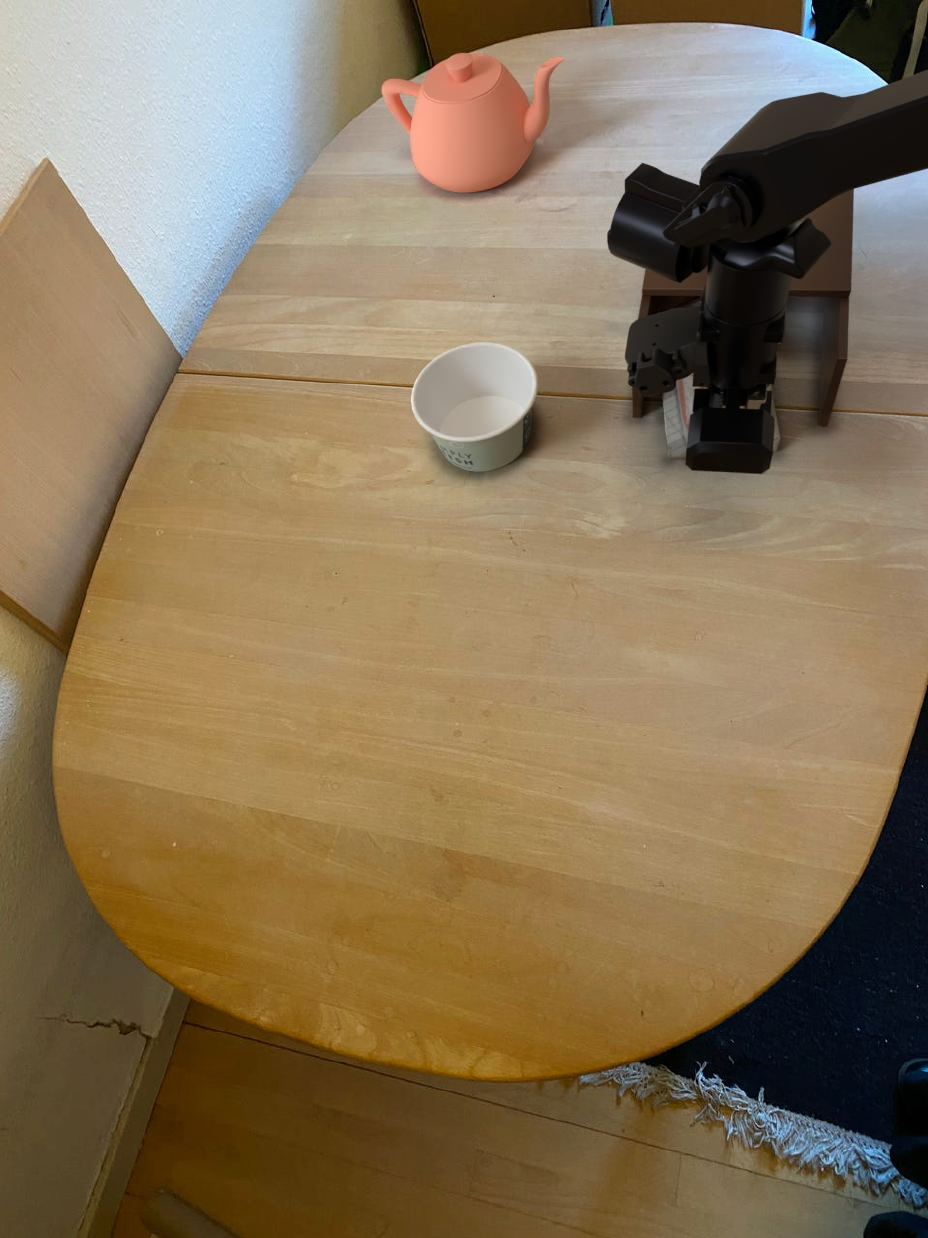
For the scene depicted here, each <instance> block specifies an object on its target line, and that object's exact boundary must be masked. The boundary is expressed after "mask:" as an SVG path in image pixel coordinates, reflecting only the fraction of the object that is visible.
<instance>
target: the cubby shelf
mask: <svg viewBox="0 0 928 1238" xmlns="http://www.w3.org/2000/svg"><path fill="white" fill-rule="evenodd" d="M854 197H855V189H852V190H849V191H847V192H845V193H843V194H841V195H839V196H837V197H835V198H833V199H831V200H829V201H828V202H826V203H825V204H823V205H822V206H820V207H819V208H817V209H816V210H814V211H813V212H811V213H809V214H808V215H806V216H805V217H803V218H802V219H800V220H799V221H797V222H801V221H803V220H804V219H805V218H811V219H812V221H813V223H814V225H815V227H816V228H818V229H819V230H821V231H823V232H824V233H825V234H826V235H827V237H828V238H829V239H830V240H831V242H832V247H831V248H830V250H829V251H828V252H827V253H826V254H825V255H824V256H823V257H822V258H821V259H820V260H819V261H818V262H817V263H816V265H815V266H814V267H813V268H812V269H811V270H810V271H809V272H808V273H807V274H806V275H805V276H804V277H803V278H802V279H796V278H794V277H792V279H791V284H790V289H789V295H788V298H823V313H822V333H821V334H822V335H821V354H820V355H821V357H820V377H819V378H820V380H819V381H820V382H819V399H818V400H819V401H818V420H817V421H818V427H828V425H829V422H830V420H831V416H832V413H833V409H834V406H835V403H836V399H837V395H838V393H839V389H840V386H841V382H842V379H843V375H844V372H845V369H846V365H847V363H848V358H849V357H848V355H849V322H850V321H849V320H850V319H849V318H850V297H851V294H852V283H853V282H852V280H853V279H852V276H853V243H854V241H853V239H854V201H855V198H854ZM707 268H708V265H707V266H706V268H705V269H703V270H702V271H701V272H699V273H692V274H691V275H690V276H689V277H688V278H686V279H685V280H683V281H682V282H681V283H678V282H675V281H673V280H670V279H668V278H666V277H663V276H661V275H658V274H656V273H654V272H651V271H649V270H646V269H644V276H643V281H642V287H641V298H640V299H641V300H640V305H639V311H638V315H637V319H639V318H642V317H646V316H649V315H653V314H657V313H659V308H660V302H661V297H701V293H702V291H704V286H705V285H706V280H707ZM631 388H632V389H631V390H632V393H631V394H632V418H635V419H641V418H642V414H643V408H644V401H645V396H644V395H641V394H640V393H639V392H638V390H637V388H636V387H632V386H631Z"/></svg>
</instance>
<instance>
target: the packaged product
mask: <svg viewBox="0 0 928 1238" xmlns="http://www.w3.org/2000/svg"><path fill="white" fill-rule="evenodd" d="M700 302H701V296H698V297H696V298H694V299H690V300H688V299H687V300H685V301H682V302H680V303H678V304H675V305H674V306H673V307H672V308H671V309H675V308H690V307H696V306H700ZM692 384H693V373H692V374H691V375H690V376H688V377H686V378H684V379H680V380H677V381H676V387H675V388H674V390H673V391H670V392H666V393H661V397H662V398H661V399H662V407H663V417H664V431H665V436H666V437H665V438H666V442H667V457H668V459H669V460H675V459H676V460H677V459H679V460H680V459H686V448H687V439H688V430H689V421H690V415H691V414H693V411H692V409H693V400H694V391H695V388H698V389H708V388H707V387H692ZM767 390H769V391H772V404H771V415H772V416H773V417H774V418H775V426H774V445H773V452H777V450H778V447H779V444H780V441H781V434H780V428H779V422H778V417H777V411H776V406H775V401H774V400H775V399H774V394H773V388H772V384H770V385H769V386H768V388H767Z"/></svg>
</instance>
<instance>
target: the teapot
mask: <svg viewBox="0 0 928 1238" xmlns="http://www.w3.org/2000/svg"><path fill="white" fill-rule="evenodd" d="M564 58H565V57H564V56H556V57H552V58H550V59H548V60H547V61H545V62H543V63H542V64H541V65H539V67H538V69H537V71H536V73H535V75H534V82H533V101H532V103H530V101H529V98H528V96H527V94H526V92H525V90H524V89H523V87H522V86H521V85H520V83H519V82H518V80H517V79H516V77H515V76H514V75H513V74H512V72H511V71H510V70H509V69H508V68H507V67H506V66H505V65H504V64H503V63H502V62H501V61H500V60H499V59H498V58H496V57H493V56H491V55H488V54H483V53H467V52H458V53H455V54H453V55H451V56H449V58H446V59H443V60H442V61H440V62H438V63H437V64H435V65H434V66H433V67H432V68H431V69H430V70H429V71H428V73H427V74H426V76H425V77H424V79H423V81H422V83H421V84H420V83H418V82H415V81H411V80H407V79H402V78H389V79H387V80H385V81H384V82H383V83H382V85H381V94H382V98H383V100H384V103H385V104H386V106H387V107H388V109H389V112H391V113H392V115H393V116H394V118H395V119H396V121H397V122H398V123H399V124H400V125H401V127H403V129H404V130H405V132H407V133H408V134H409V136H410V137H409V138H410V143H409V144H410V145H409V146H410V153H411V158H412V163H413V165H414V167H415V169H416V171H417V172H418V173H419V175H420V176H421V177H423V179H425V180H427V181H428V182H429V183H431V184H433V185H434V186H436V187H438V188H440V189H443V190H445V191H449V192H456V193H477V192H481V191H486V190H488V189H493V188H495V187H498V186H500V185H502V184H504V183H506V182H507V181H509V180H510V179H512V178H513V177H514V176H515V175H517V173H519V171H520V170H521V169H522V167H523V166H524V165H525V163H526V161H527V159H528V158H529V157H530V155H531V153H532V151H533V148H534V147H535V143H536V141H537V140H538V139H539V138H540V137H541V136H542V134H543V133H544V131H545V130H546V128H547V125H548V122H549V120H550V119H549V118H550V111H551V110H550V109H551V108H550V107H551V103H550V82H551V81H550V80H551V76H552V74H553V72H554V71H555V69H556V68H557V67H558V65H560V64H561V63H562V62H563V60H564ZM400 94H401V95H406V96H409V97H414V98H416V101H415V104H414V108H413V112H412V115H411V114H410V113H409V111H408V109H407V107H406V106H405V104H404V102H403V100H402V98H401V96H400Z"/></svg>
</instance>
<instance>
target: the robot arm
mask: <svg viewBox="0 0 928 1238" xmlns="http://www.w3.org/2000/svg"><path fill="white" fill-rule="evenodd" d="M927 169H928V69H926V70H922V71H920V72H917V73H915V74H912V75H910V76H907V77H905V78H902V79H899V80H896V81H894V82H891V83H889V84H885V85H883V86H880V87H878V88H875V89H872V90H869V91H867V92H864V93H859V94H852V95H848V96H841V95H836V94H832V93H828V92H823V91H819V92H813V93H808V94H801V95H796V96H790V97H786V98H785V97H784V98H780V99H776V100H772V101H771V102H769V103H768V104H766V105H765V106H763V107H761V108H760V109H759V110H758V111H757V112H756V113H755V114H754V115H753V116H751V118H750V119H749V120H748V121H746V123H745V124H743V126H742V127H741V128H740V129H738V131H736V133H734V135H733V136H732V137H731V138H730V139H728V140H727V142H726V143H725V144H724V145H722V146H721V148H720V149H719V150H718V151H716V152H715V154H713V155H712V156H711V158H709V160H707V162H705V164H704V165H703V166H702V167H701V169H700V177H699V181H698V184H697V183H694V182H691V181H689V180H686V179H683V178H680V177H677V176H674V175H671V174H670V173H666V172H665V171H662V170H661V169H660V168H658V167H655V166H654V165H650V164H648V163H645V162H641V163H640V164H639V165H638V166H637V167H635V169H634V170H633V171H632V172H630V174H628V176H627V177H626V178H624V193H623V194H622V196H621V197H620V200H619V201H618V203H617V205H616V208H615V211H614V213H613V216H612V220H611V224H610V228H609V230H608V231H607V234H606V243H607V248H608V250H609V252H610V254H611V255H612V256H613V257H615V258H618V259H621V260H623V261H624V262H628V263H629V264H631V265H635V266H637V267H639V268H642V269H644V270H645V269H646V270H649V271H651V272H654V273H656V274H658V275H661V276H663V277H666V278H668V279H670V280H673V281H675V282H678V283H681V282H682V281H683V280H685V279H686V278H688V277H689V276H690V275H691V274H692V273H699V272H701V271H702V270H703V269H705V268H706V266H707V265H708V268H707V280H706V285H705V286H704V291H702V293H701V296H700V297H701V302H700V306H696V307H690V308H675V309H672V308H671V309H667V310H665V311H661V312H658V313H657V314H653V315H649V316H646V317H642V318H639V319H638V318H637V319H636V320H634V321H633V322H632V323H631V324H630V326H629V327H628V332H627V337H626V338H627V339H626V343H625V344H626V345H625V351H624V360H625V362H626V364H627V366H626V371H627V373H628V379H627V384H628V386H630V387H631V388H632V387H636V388H637V390H638V392H639V393H640V394H641V395H644V397H652V396H656V395H662V393H666V392H670V391H673V390H674V388H675V387H676V381H677V380H680V379H684V378H686V377H688V376H690V375H691V374H692V373H693V384H692V387H707V388H708V389H698V388H695V391H694V400H693V409H692V411H693V414H691V415H690V421H689V430H688V439H687V448H686V458H685V462H684V466H686V467H687V468H689V469H690V471H694V472H695V471H696V472H714V473H715V472H716V473H732V474H733V473H734V474H750V475H751V474H752V475H753V474H754V475H762V474H764V473H766V472H767V471H768V470H769V469H770V468H771V464H772V459H773V455H774V451H773V445H774V426H775V418H774V417H773V416H772V415H771V404H772V393H773V390H772V391H769V390H767V388H768V386H769V385H770V384H771V385H775V382H776V377H777V362H778V350H779V346H780V344H783V341H784V337H785V329H786V311H787V305H788V299H789V297H788V295H789V289H790V284H791V279H792V277H794V278H796V279H802V278H803V277H804V276H805V275H806V274H807V273H808V272H809V271H810V270H811V269H812V268H813V267H814V266H815V265H816V263H817V262H818V261H819V260H820V259H821V258H822V257H823V256H824V255H825V254H826V253H827V252H828V251H829V250H830V248H831V247H832V242H831V240H830V239H829V238H828V237H827V235H826V234H825V233H824V232H823V231H821V230H819V229H818V228H816V227H815V225H814V223H813V221H812V219H811V218H805V219H804V220H803V221H801V222H797V221H799V220H800V219H802V218H803V217H805V216H806V215H808V214H809V213H811V212H813V211H814V210H816V209H817V208H819V207H820V206H822V205H823V204H825V203H826V202H828V201H829V200H831V199H833V198H835V197H837V196H839V195H841V194H843V193H845V192H847V191H849V190H852V189H854V190H855V189H858V188H862V187H866V186H869V185H873V184H877V183H880V182H885V181H888V180H891V179H895V178H899V177H903V176H906V175H911V174H914V173H917V172H921V171H925V170H927Z"/></svg>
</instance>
